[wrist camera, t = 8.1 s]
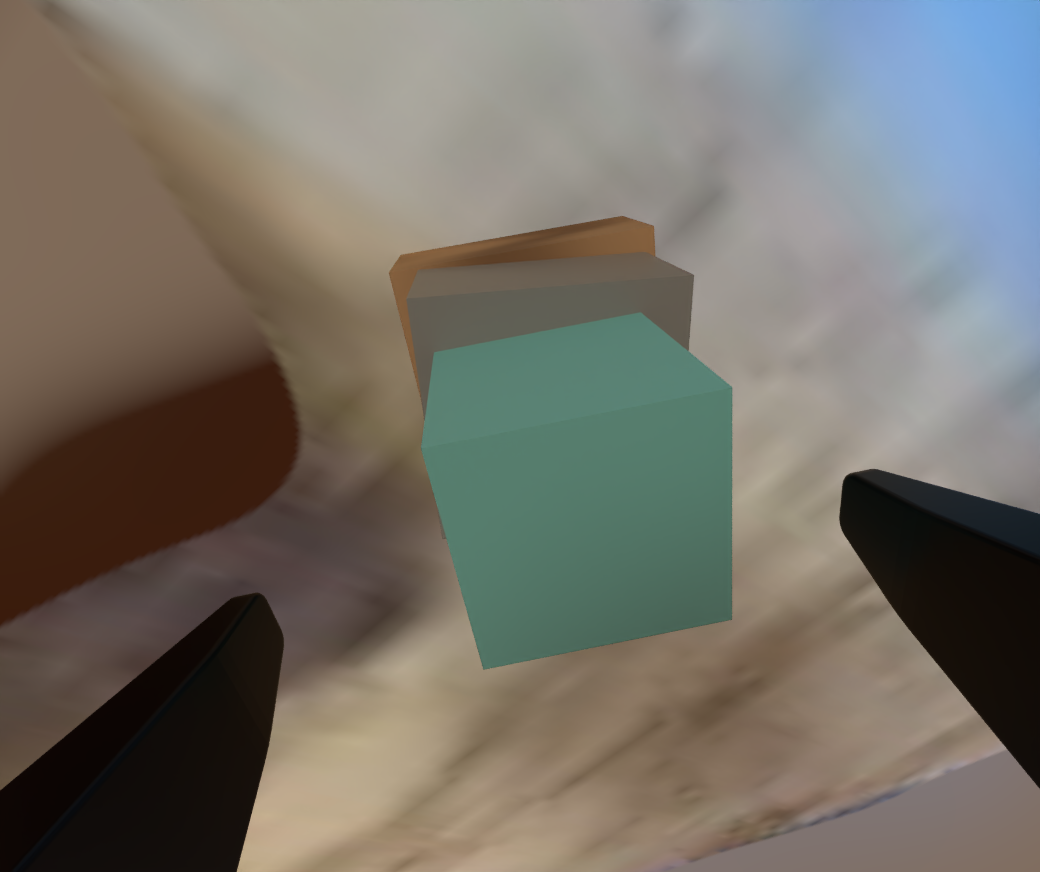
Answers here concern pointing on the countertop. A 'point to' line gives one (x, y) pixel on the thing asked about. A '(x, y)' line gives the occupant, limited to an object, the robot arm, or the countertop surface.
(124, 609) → the countertop surface
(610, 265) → the charcoal block
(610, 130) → the countertop surface
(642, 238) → the walnut base block
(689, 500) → the teal block
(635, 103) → the countertop surface
